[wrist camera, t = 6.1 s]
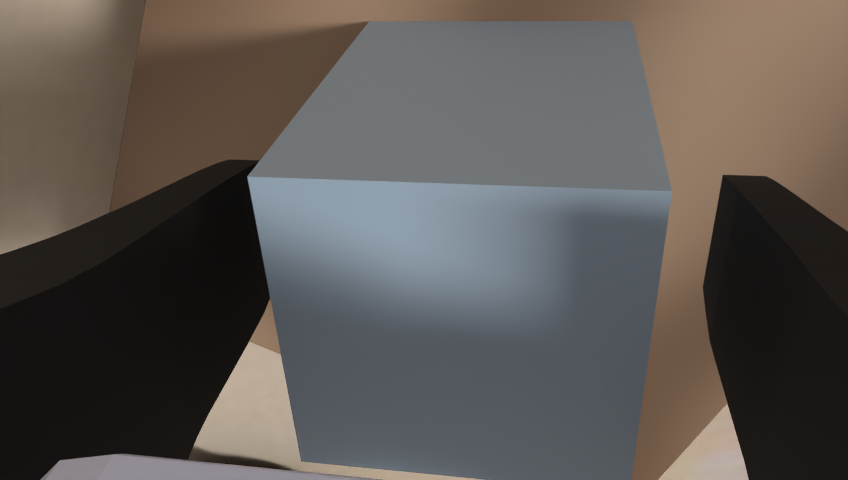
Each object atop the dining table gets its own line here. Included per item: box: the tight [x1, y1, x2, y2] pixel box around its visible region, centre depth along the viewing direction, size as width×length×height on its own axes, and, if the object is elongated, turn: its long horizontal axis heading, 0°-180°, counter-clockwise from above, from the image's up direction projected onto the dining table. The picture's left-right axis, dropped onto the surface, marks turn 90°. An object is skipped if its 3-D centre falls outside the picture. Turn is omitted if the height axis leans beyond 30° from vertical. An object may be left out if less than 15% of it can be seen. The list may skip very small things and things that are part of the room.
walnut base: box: [109, 0, 848, 480], centre depth 15 cm, size 14×14×2 cm
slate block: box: [247, 21, 672, 480], centre depth 12 cm, size 4×4×6 cm
